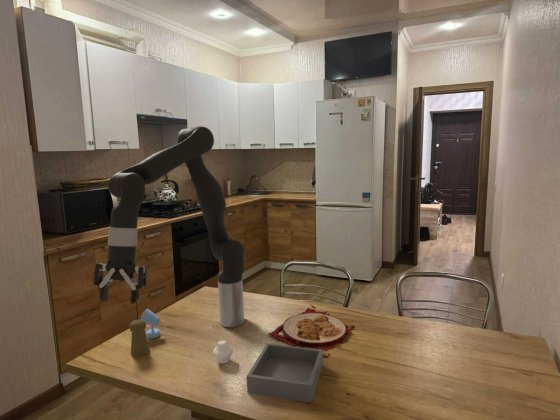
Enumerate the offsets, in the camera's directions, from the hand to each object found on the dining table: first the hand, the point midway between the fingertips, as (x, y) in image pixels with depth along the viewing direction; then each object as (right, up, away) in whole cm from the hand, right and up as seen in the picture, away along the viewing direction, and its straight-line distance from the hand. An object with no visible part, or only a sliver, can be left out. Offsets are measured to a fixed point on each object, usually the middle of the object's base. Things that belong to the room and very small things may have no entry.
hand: (118, 302), depth 106 cm
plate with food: (+58, -19, +32) cm, 69 cm away
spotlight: (-2, -20, +33) cm, 39 cm away
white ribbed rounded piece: (+27, -23, +15) cm, 38 cm away
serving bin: (+47, -23, +5) cm, 53 cm away
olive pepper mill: (-2, -22, +22) cm, 31 cm away
